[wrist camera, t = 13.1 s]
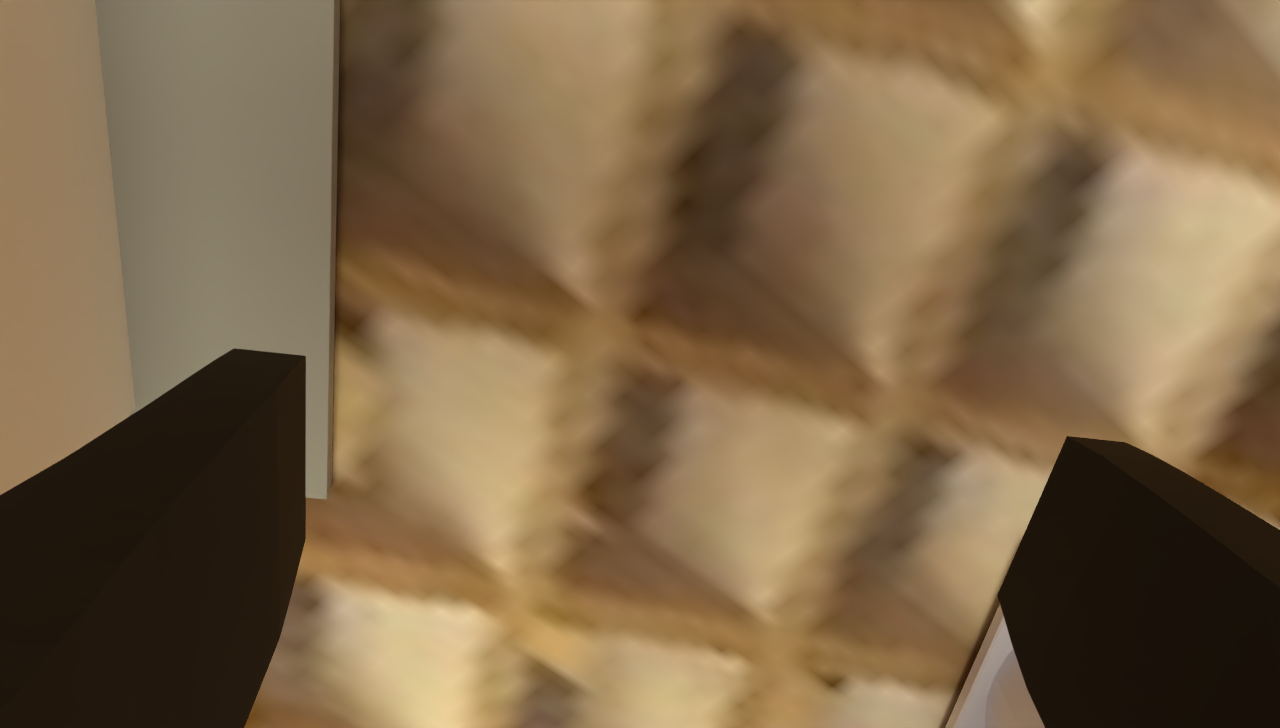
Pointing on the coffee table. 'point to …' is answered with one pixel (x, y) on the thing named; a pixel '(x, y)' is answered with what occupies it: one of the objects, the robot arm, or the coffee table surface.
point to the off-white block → (57, 242)
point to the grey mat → (226, 188)
